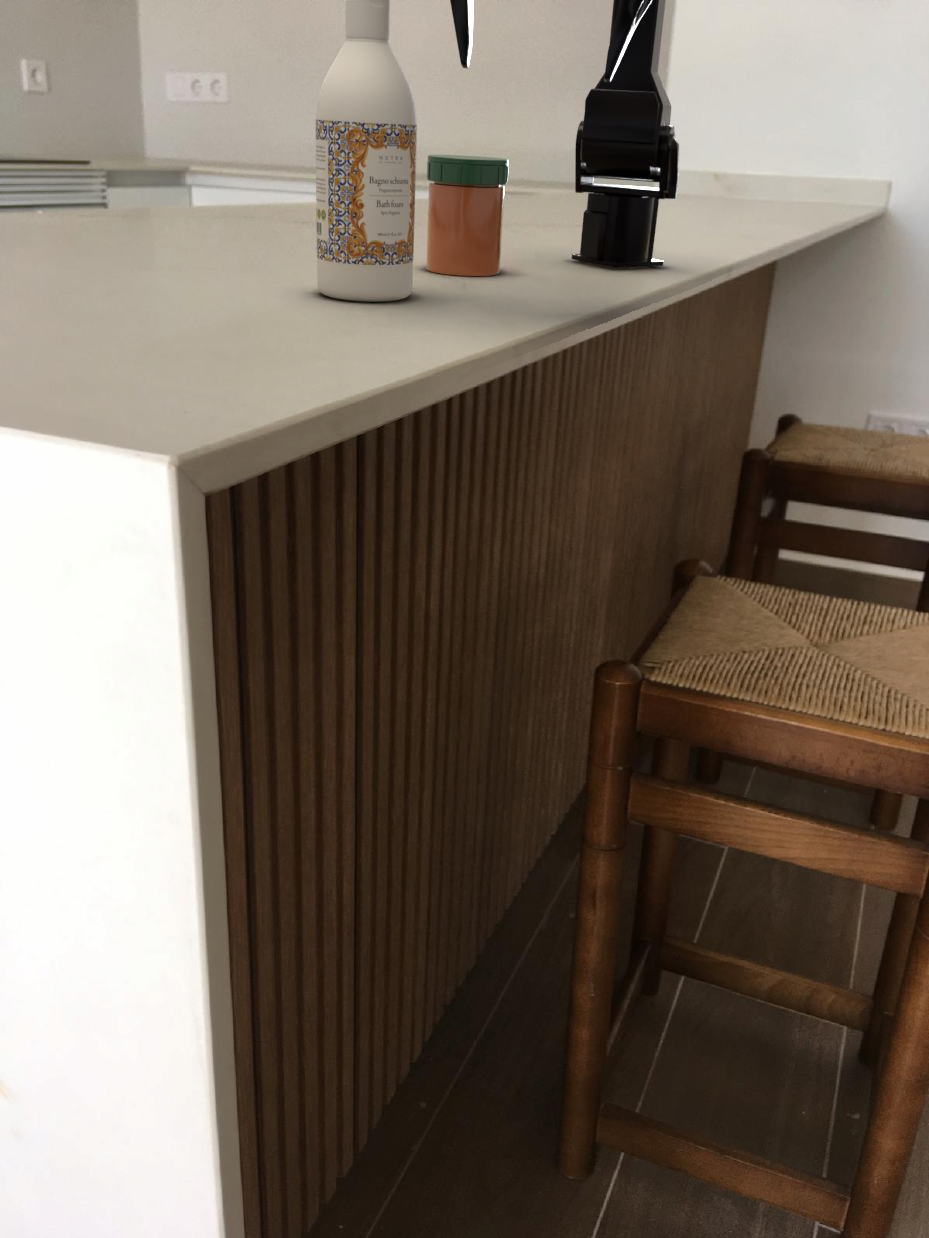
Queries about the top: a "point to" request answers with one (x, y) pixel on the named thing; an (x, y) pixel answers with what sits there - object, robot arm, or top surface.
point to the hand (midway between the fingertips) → (535, 73)
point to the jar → (464, 229)
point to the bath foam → (365, 165)
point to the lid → (467, 170)
